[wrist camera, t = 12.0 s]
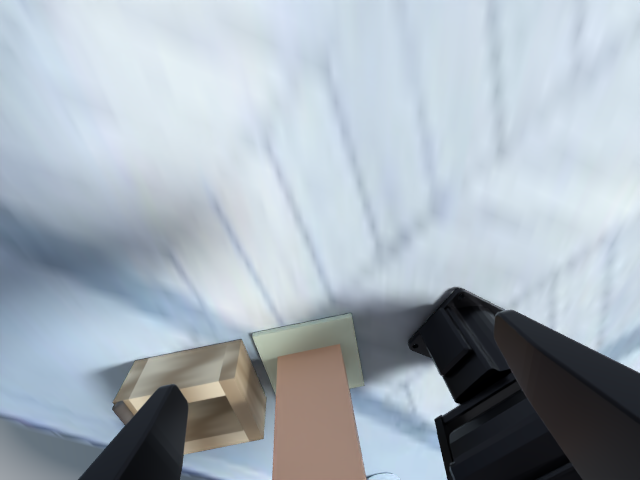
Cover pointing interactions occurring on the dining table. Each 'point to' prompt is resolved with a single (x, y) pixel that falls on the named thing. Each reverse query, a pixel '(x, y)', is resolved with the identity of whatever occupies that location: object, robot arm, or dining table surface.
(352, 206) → the dining table surface
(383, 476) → the cup with straw
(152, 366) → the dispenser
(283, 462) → the pinkish tan rectangular block
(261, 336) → the pad
